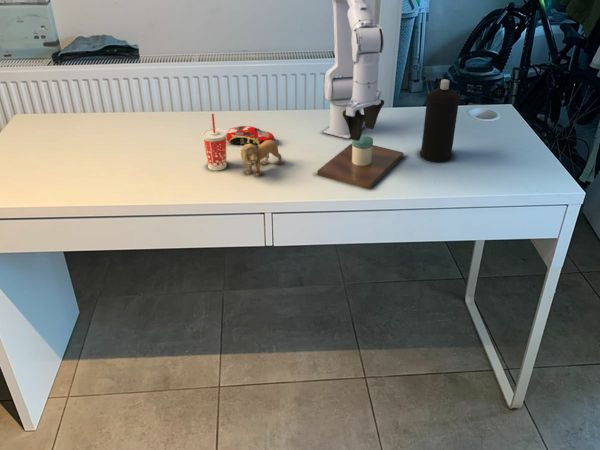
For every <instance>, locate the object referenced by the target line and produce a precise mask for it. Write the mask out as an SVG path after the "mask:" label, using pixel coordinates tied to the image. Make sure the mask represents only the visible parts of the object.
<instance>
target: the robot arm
mask: <svg viewBox="0 0 600 450" xmlns="http://www.w3.org/2000/svg"><path fill="white" fill-rule="evenodd" d="M331 3H332V8H333V10H332V11H333V39H334V40H333V41H334V64H333V65H332V66H331V68H329V69H328V70H327V71H326V72H325V75H324V85H323V86H324V88H323V89H324V96H325V100H327V101H328V102H330V103H329V127H327V128H326V129H324V130H323V133H324V134H327V135H331V136H334V137H335V136H336V137H338V138H339V137H340V138H344V139H347V140H348V139H350V140H351V141H352V140H356V141H359V140H360V137H361V135H362V131H363V128H365V129H367V130H374V129H375V128H376V127H375V126H376V124H377V120H378V117H379V114H380V112H381V110H382V108H383V107H384V105H385V100H383V99H380V98H381V97H382V89H381V88H378V80H379V64H380V54H382V53H383V50H384V47H385V46H384V45H385V35H384V30H383V28H382V27H383V26H380V24H379V23H376V20H375V17H374V13H373V9H372V7H371V6H370V4H369V3H367V2H366V1H365V0H331ZM362 110H363V114H362Z"/></svg>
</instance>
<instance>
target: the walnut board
mask: <svg viewBox="0 0 600 450" xmlns="http://www.w3.org/2000/svg"><path fill="white" fill-rule="evenodd" d="M403 157H404V152H403V151H399V150H395V149H391V148H388V147H387V148H386V147H382V146H379V145H374V144H373V149H372V162H371V164H369V165H365V166H359V165H355V164H354V163H352V143H350V144H349V145H348V146H347V147H345V148H344V149H343V150H341V151H340V152H339V153H338V154H336V155H335V156H334V157H333V158H332V159H330V160H329V161H328V162H326V163H325V164H323V166H321V167H320V168H319V169H318V170H317V175H318V176H321V177H325V178H328V179H332V180H334V181H339V182H341V183H342V182H343V183H345V184H350V185H353V186H356V187H360V188H363V189H368V190H369V189H371V188H372V187H373V186H374V185H375V184H376V183H377V182H378V181H379V180H380V179H381V178H382V177H383V176H385V175H386V173H388V172H389V171H390V170H391V169H392V168H393V167H394V166H395V165H396V164H397V163H398V162H400V160H402V158H403Z"/></svg>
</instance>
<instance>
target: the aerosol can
mask: <svg viewBox="0 0 600 450" xmlns="http://www.w3.org/2000/svg"><path fill="white" fill-rule="evenodd" d="M425 98H426V105H425V114H424V122H423V123H424V124H423V131H422V140H421V141H422V142H421V150H420V151H419V156H420V157H421V158H422V159H423V160H426V161H429V162H432V163H445V162H448V161H450V160H452V158H453V152H452V151H453V146H454V139H455V132H456V124H457V118H458V110H459V103H460V101H461V97H460V95H458V93H457V92H456V91H455V90H453V89H451V88H450V80H449V79H446V78H443V79H441V80H440V86H439V87H437V88H434V89H432V90H431V91H429V93H427V94H426V96H425Z"/></svg>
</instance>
